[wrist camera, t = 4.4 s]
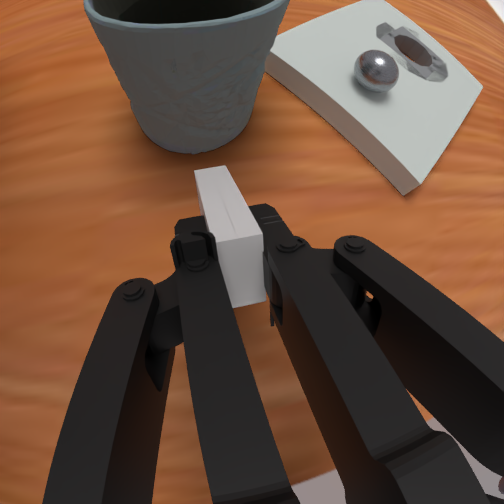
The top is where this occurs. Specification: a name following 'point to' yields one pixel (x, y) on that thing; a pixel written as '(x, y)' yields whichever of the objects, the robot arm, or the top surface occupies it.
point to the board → (371, 103)
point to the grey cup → (188, 63)
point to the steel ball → (376, 71)
